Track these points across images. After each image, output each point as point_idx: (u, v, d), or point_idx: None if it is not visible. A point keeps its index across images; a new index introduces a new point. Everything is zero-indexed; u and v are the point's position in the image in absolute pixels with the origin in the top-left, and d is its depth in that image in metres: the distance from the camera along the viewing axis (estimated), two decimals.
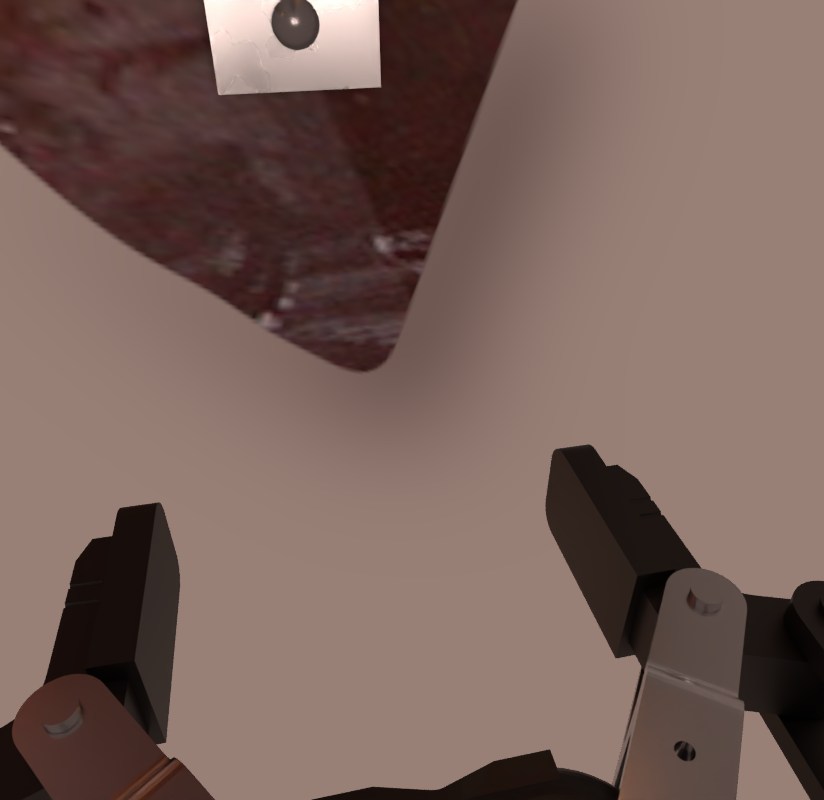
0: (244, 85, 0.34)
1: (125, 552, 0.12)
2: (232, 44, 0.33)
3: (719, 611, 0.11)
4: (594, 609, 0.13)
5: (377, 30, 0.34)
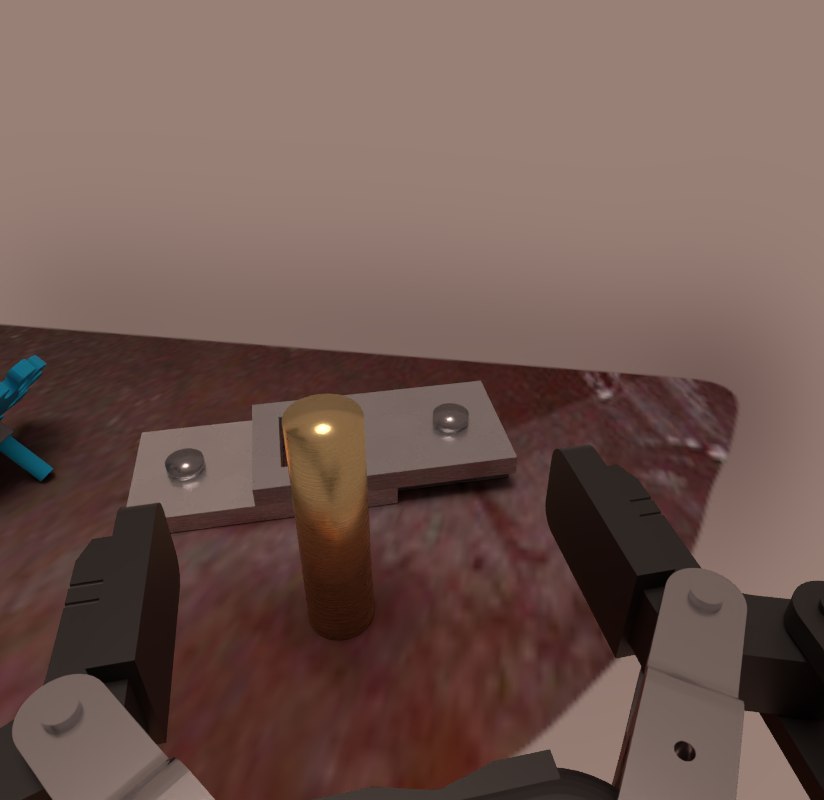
0: (504, 443, 0.41)
1: (125, 552, 0.12)
2: (476, 450, 0.41)
3: (719, 611, 0.11)
4: (594, 610, 0.13)
5: (443, 385, 0.46)
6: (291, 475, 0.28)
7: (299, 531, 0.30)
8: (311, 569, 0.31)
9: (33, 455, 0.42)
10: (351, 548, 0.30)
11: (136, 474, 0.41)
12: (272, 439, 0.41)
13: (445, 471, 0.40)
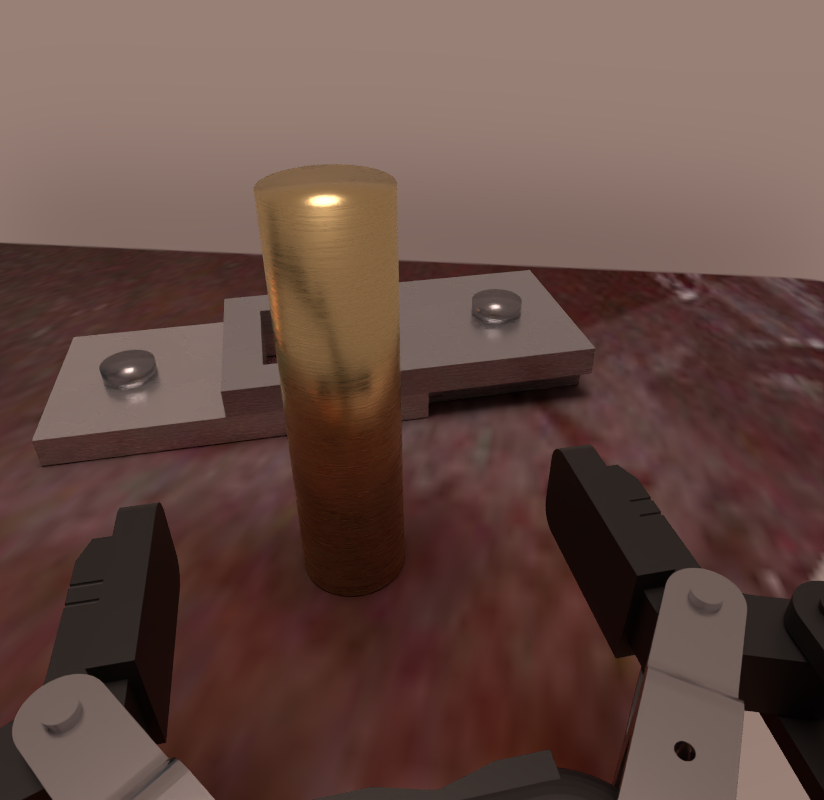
0: (574, 334, 0.30)
1: (125, 552, 0.12)
2: (536, 342, 0.29)
3: (719, 611, 0.11)
4: (593, 610, 0.13)
5: (481, 275, 0.35)
6: (272, 294, 0.16)
7: (288, 406, 0.18)
8: (309, 473, 0.19)
9: None
10: (374, 432, 0.18)
11: (59, 383, 0.29)
12: (251, 334, 0.30)
13: (496, 368, 0.28)
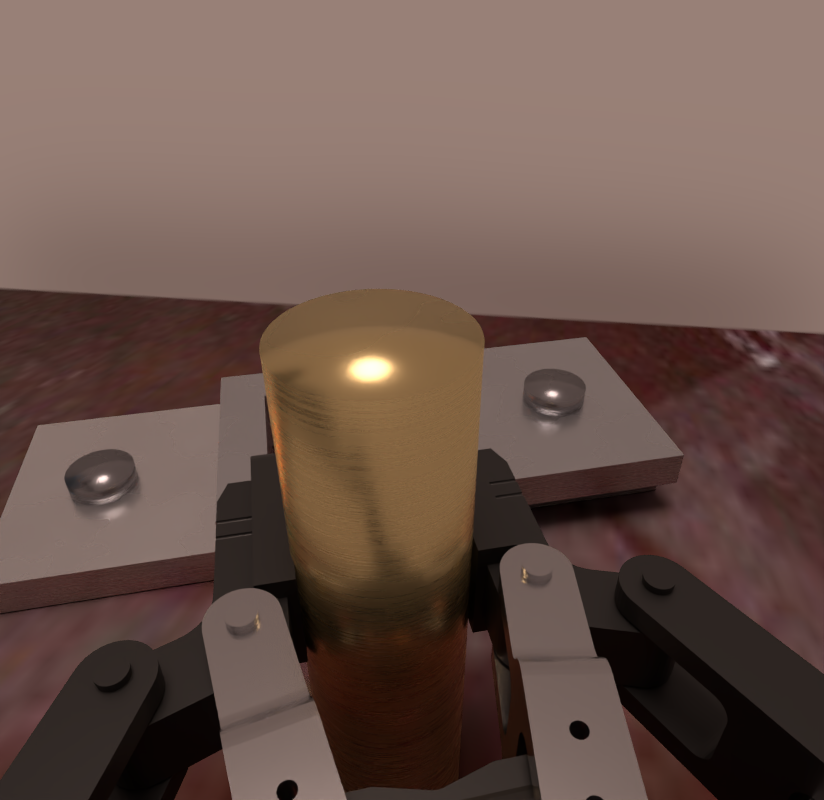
0: (654, 433, 0.24)
1: (266, 492, 0.13)
2: (609, 445, 0.23)
3: (546, 583, 0.11)
4: None
5: (529, 344, 0.29)
6: (288, 498, 0.11)
7: (308, 632, 0.12)
8: (337, 715, 0.13)
9: None
10: (433, 670, 0.12)
11: (15, 495, 0.23)
12: (253, 431, 0.24)
13: (561, 482, 0.22)
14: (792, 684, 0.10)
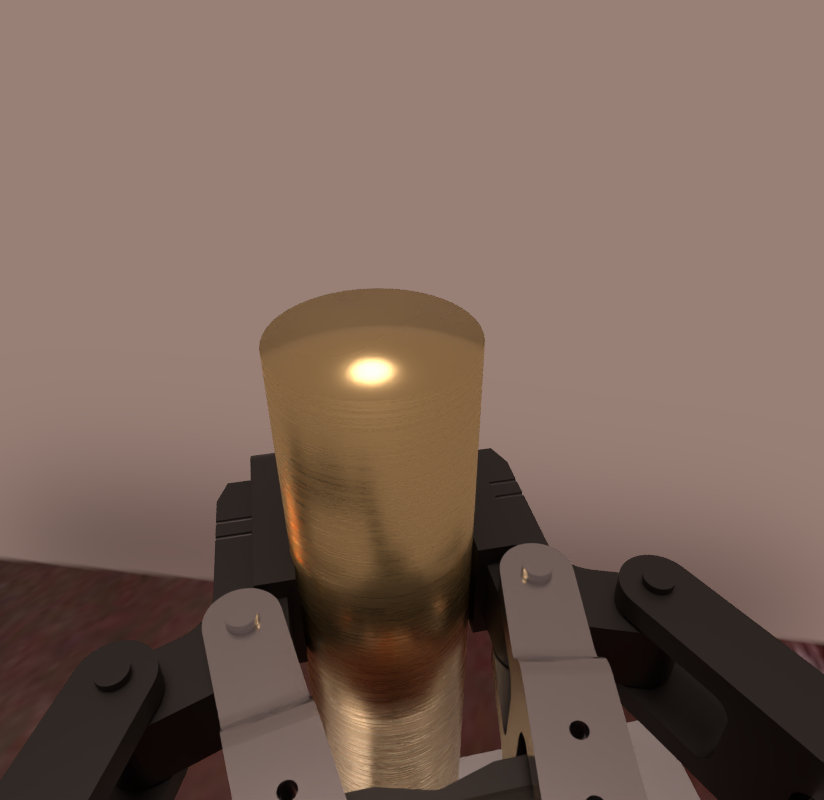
0: None
1: (266, 492, 0.13)
2: None
3: (545, 583, 0.11)
4: None
5: None
6: (287, 497, 0.11)
7: (308, 631, 0.12)
8: (337, 716, 0.13)
9: None
10: (434, 671, 0.12)
11: None
12: None
13: None
14: (793, 684, 0.10)
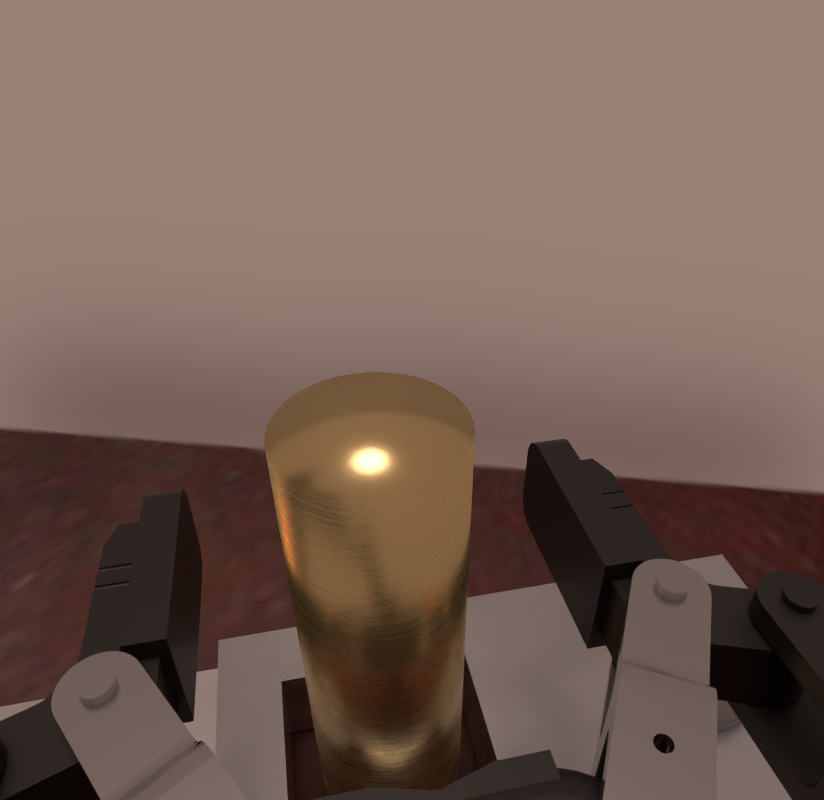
0: None
1: (153, 536, 0.12)
2: None
3: (684, 600, 0.11)
4: (567, 602, 0.14)
5: None
6: (292, 574, 0.11)
7: (312, 689, 0.13)
8: (340, 764, 0.14)
9: None
10: (431, 725, 0.13)
11: None
12: (267, 767, 0.16)
13: None
14: None
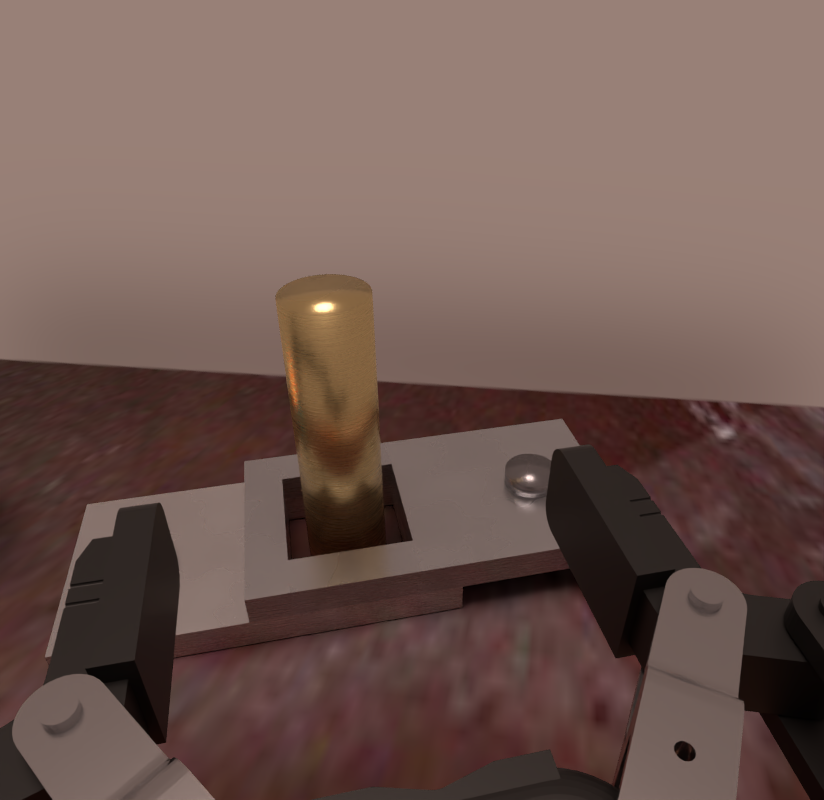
0: None
1: (125, 552, 0.12)
2: None
3: (719, 611, 0.11)
4: (593, 610, 0.13)
5: (511, 426, 0.33)
6: (288, 366, 0.24)
7: (298, 441, 0.25)
8: (313, 489, 0.26)
9: None
10: (359, 459, 0.25)
11: None
12: (274, 514, 0.28)
13: (534, 560, 0.27)
14: None
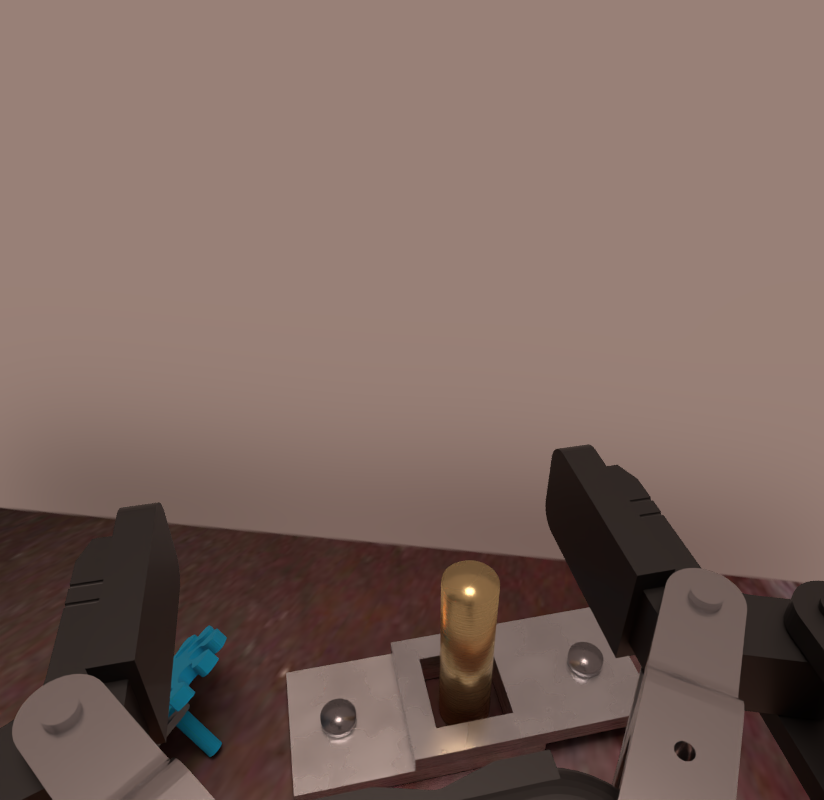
0: None
1: (125, 552, 0.12)
2: (617, 702, 0.43)
3: (719, 611, 0.11)
4: (593, 610, 0.13)
5: (568, 612, 0.48)
6: (446, 622, 0.39)
7: (445, 658, 0.41)
8: (452, 684, 0.41)
9: (205, 731, 0.42)
10: (483, 669, 0.40)
11: (292, 730, 0.43)
12: (420, 689, 0.43)
13: (591, 727, 0.42)
14: None
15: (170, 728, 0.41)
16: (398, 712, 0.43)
